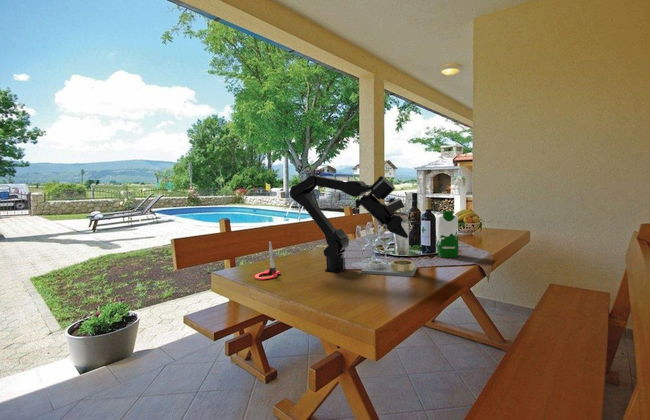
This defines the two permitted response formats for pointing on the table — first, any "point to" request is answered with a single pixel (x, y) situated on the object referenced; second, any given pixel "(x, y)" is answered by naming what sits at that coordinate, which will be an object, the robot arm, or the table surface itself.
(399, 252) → the disc
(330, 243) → the robot arm
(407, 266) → the wide brass socket
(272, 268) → the tow hook
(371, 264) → the narrow aluminium socket
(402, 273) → the fitting board
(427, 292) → the table surface
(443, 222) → the milk carton
